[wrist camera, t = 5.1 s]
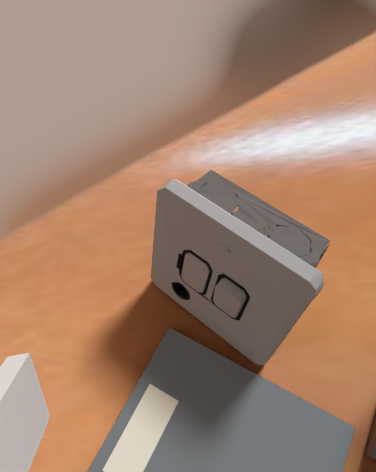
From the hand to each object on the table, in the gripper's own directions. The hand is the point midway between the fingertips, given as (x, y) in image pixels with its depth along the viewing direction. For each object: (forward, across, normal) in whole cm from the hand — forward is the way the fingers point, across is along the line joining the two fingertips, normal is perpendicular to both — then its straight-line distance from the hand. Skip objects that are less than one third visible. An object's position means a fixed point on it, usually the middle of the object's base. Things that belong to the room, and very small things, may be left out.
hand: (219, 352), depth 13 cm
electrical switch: (+12, +2, -3) cm, 12 cm away
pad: (+4, -1, -10) cm, 11 cm away
